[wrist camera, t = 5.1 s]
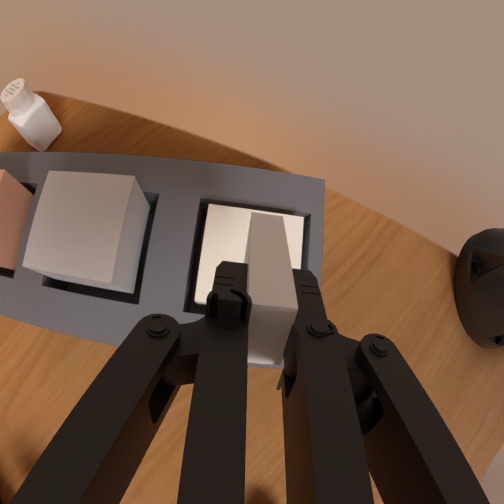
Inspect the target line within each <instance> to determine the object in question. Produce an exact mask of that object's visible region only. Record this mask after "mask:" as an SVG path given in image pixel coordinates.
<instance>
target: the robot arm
mask: <svg viewBox="0 0 504 504" xmlns="http://www.w3.org/2000/svg"><path fill="white" fill-rule="evenodd" d="M455 295H456V302H457V307H458V312H459V315H460V318H461V321H462V323H463V326H464V328H465V330H466V331H467V333H468V334H469V336H470V337H471V338H472V340H473V341H474V342H476V343H477V344H478V345H480V346H482V347H485V348H502V347H504V229H498V228H497V229H495V228H492V229H487V230H484V231H482V232H480V233H478V234H476V235H473V236H472V237H470V238H469V239H468V240H467V242H466V243H465V244H464V246H463V248H462V250H461V252H460V254H459V257H458V261H457V266H456V272H455ZM282 359H284V368H283V371H282V374H281V377H280V379H279V382H278V385H277V390H280V388H281V387H282V406H283V425H284V446H285V469H286V495H287V504H374V499H373V493H372V487H371V481H370V475H369V472H370V474H371V476H372V478H373V480H374V483H375V485H376V487H377V489H378V492H379V494H380V496H381V498H382V500H383V503H384V504H490V503H489V501H488V499H487V497H486V495H485V493H484V492H483V489H482V488H481V486H480V484H479V482H478V480H477V478H476V476H475V474H474V473H473V471H472V469H471V467H470V465H469V463H468V462H467V460H466V458H465V456H464V455H463V453H462V451H461V449H460V448H459V446H458V444H457V442H456V441H455V439H454V437H453V436H452V434H451V432H450V431H449V429H448V427H447V426H446V424H445V422H444V421H443V419H442V417H441V416H440V414H439V412H438V411H437V409H436V407H435V406H434V404H433V403H432V401H431V399H430V398H429V396H428V395H427V393H426V392H425V390H424V388H423V387H422V385H421V384H420V382H419V381H418V379H417V378H416V376H415V374H414V373H413V371H412V370H411V368H410V367H409V365H408V364H407V362H406V361H405V359H404V358H403V356H402V355H401V353H400V352H399V350H398V349H397V347H396V346H395V345H394V343H393V342H392V341H391V340H390V339H388V338H386V337H385V336H383V335H379V334H368V335H365V336H364V337H363V338H362V340H361V342H360V341H357V340H354V339H350V338H347V337H345V336H342V335H340V334H339V333H338V330H337V328H336V326H335V325H334V324H333V323H332V322H331V321H330V320H328V319H327V316H326V312H325V308H324V304H323V300H322V296H321V292H320V288H319V285H318V281H317V278H316V277H315V276H314V274H313V273H312V272H311V271H310V270H303V269H295V268H292V266H291V260H290V254H289V248H288V243H287V237H286V231H285V226H284V220H283V216H277V215H270V214H263V213H255V212H251V218H250V225H249V231H248V238H247V245H246V251H245V258H244V263H238V262H230V261H222V262H221V263H220V264H219V265H218V266H217V267H216V271H215V277H214V282H213V287H212V291H210V292H209V294H208V296H207V299H206V314H205V316H204V317H202V318H201V319H200V320H197V321H195V322H191V323H184V324H179V323H178V322H177V321H176V320H175V319H174V318H173V317H171V316H169V315H166V314H160V313H158V314H150V315H148V316H145V317H143V318H142V319H141V320H140V321H139V322H138V323H137V324H136V325H135V327H134V328H133V329H132V331H131V332H130V333H129V334H128V336H127V337H126V338H125V340H124V341H123V342H122V344H121V345H120V346H119V347H118V349H117V350H116V351H115V353H114V354H113V355H112V357H111V358H110V359H109V361H108V362H107V363H106V365H105V366H104V367H103V369H102V370H101V371H100V373H99V374H98V375H97V377H96V378H95V380H94V381H93V382H92V384H91V385H90V386H89V388H88V389H87V390H86V392H85V393H84V395H83V396H82V397H81V399H80V400H79V402H78V403H77V404H76V406H75V407H74V408H73V410H72V411H71V413H70V414H69V416H68V417H67V418H66V420H65V421H64V423H63V424H62V426H61V427H60V428H59V430H58V431H57V433H56V434H55V436H54V437H53V439H52V440H51V441H50V443H49V444H48V446H47V447H46V449H45V450H44V452H43V453H42V455H41V456H40V458H39V459H38V461H37V462H36V464H35V465H34V467H33V468H32V470H31V471H30V473H29V474H28V476H27V478H26V479H25V481H24V482H23V484H22V485H21V487H20V489H19V490H18V492H17V493H16V495H15V496H14V498H13V500H12V501H11V503H10V504H119V503H120V501H121V499H122V497H123V496H124V494H125V492H126V490H127V488H128V486H129V484H130V482H131V480H132V478H133V476H134V475H135V473H136V471H137V469H138V467H139V465H140V463H141V461H142V459H143V457H144V455H145V454H146V452H147V450H148V448H149V446H150V444H151V442H152V440H153V438H154V436H155V434H156V433H157V431H158V429H159V427H160V425H161V423H162V421H163V419H164V417H165V415H166V413H167V412H168V410H169V408H170V406H171V404H172V402H173V400H174V398H175V396H176V394H177V392H178V391H179V389H180V387H181V385H185V384H192V383H194V387H193V393H192V400H191V406H190V413H189V419H188V426H187V433H186V439H185V446H184V453H183V461H182V468H181V476H180V483H179V491H178V499H177V504H244V491H245V449H246V408H247V368H248V363H258V364H270V365H281V362H282Z"/></svg>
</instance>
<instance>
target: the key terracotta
mask: <svg viewBox="0 0 504 504" xmlns="http://www.w3.org/2000/svg"><path fill="white" fill-rule="evenodd" d="M33 198H34V195H33V194H32V193H31V192H30V191H28V190H27V189H26V188H25V187H24V186H23V185H22V184H20V183H19V182H18V181H17V180H16V179H15V178H14V177H13V176H11V175H10V174H9V173H8V172H7V171H6V170H0V267H3V268H7V269H11V270H15V268H16V263H17V258H18V254H19V249H20V245H21V241H22V237H23V233H24V229H25V225H26V221H27V218H28V214H29V211H30V208H31V204H32V201H33Z"/></svg>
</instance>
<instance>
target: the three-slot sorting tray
mask: <svg viewBox="0 0 504 504" xmlns="http://www.w3.org/2000/svg"><path fill="white" fill-rule="evenodd" d="M0 170H6V171H7V172H8V173H9V174H10V175H11V176H13V177H14V178H15V179H16V180H17V181H18V182H19V183H20V184H22V185H23V186H24V187H25V188H26V189H27V190H28V191H30V192H31V193H32V194H33V195H34V198H33V201H32V204H31V208H30V211H29V214H28V218H27V221H26V225H25V229H24V233H23V237H22V241H21V245H20V249H19V254H18V258H17V263H16V268H15V270H11V269H7V268H3V267H0V314H1V315H4V316H7V317H10V318H13V319H16V320H19V321H22V322H25V323H29V324H32V325H35V326H39V327H42V328H46V329H49V330H53V331H56V332H60V333H64V334H68V335H71V336H75V337H79V338H83V339H88V340H92V341H96V342H101V343H105V344H110V345H114V346H120V345H121V344H122V342H123V341H124V340H125V338H126V337H127V336H128V334H129V333H130V332H131V331H132V329H133V328H134V327H135V325H136V324H137V323H138V322H139V321H140V320H141V319H142V318H143V317H145V316H148V315H150V314H158V313H160V314H166V315H169V316H171V317H173V318H174V319H175V320H176V321H177V322H178V323H179V324H184V323H191V322H195V321H197V320H200V319H201V318H202V317H204V316H205V314H206V307H199V306H198V305H197V303H196V302H195V301H194V300H195V293H196V285H197V278H198V271H199V264H200V257H201V251H202V244H203V237H204V231H205V225H206V219H207V212H208V206H209V204H214V205H222V206H230V207H237V208H244V209H252V210H259V211H266V212H273V213H280V214H286V215H293V216H299V217H304V222H303V239H302V254H301V268H300V269H303V270H310V271H311V272H312V273H313V274H314V276H315V277H316V278H317V281H318V285H319V288H320V287H321V271H322V253H323V230H324V194H325V180H324V179H319V178H312V177H308V176H302V175H296V174H291V173H285V172H278V171H272V170H266V169H259V168H252V167H245V166H238V165H230V164H222V163H214V162H206V161H197V160H187V159H177V158H166V157H154V156H141V155H127V154H109V153H84V152H5V153H0ZM49 171H69V172H87V173H103V174H117V175H129V176H135V177H136V179H137V181H138V183H139V185H140V188H141V190H142V192H143V194H144V196H145V198H146V200H147V202H148V204H149V206H150V210H149V214H148V219H147V224H146V228H145V233H144V238H143V243H142V248H141V254H140V259H139V265H138V271H137V276H136V282H135V289H134V294H132V293H126V292H120V291H114V290H108V289H103V288H97V287H92V286H87V285H82V284H76V283H71V282H66V281H61V280H57V279H54V278H51V277H49V276H46V275H44V274H41V273H38V272H36V271H33V270H31V269H28V268H26V267H23V266H22V265H23V260H24V256H25V251H26V247H27V243H28V238H29V234H30V231H31V227H32V223H33V219H34V216H35V212H36V209H37V206H38V202H39V199H40V196H41V193H42V190H43V187H44V184H45V181H46V178H47V175H48V172H49ZM248 366H255V367H267V368H280V369H283V368H284V359H282V362H281V365H270V364H258V363H248Z"/></svg>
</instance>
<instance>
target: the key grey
mask: <svg viewBox="0 0 504 504" xmlns="http://www.w3.org/2000/svg"><path fill="white" fill-rule="evenodd" d="M149 210H150V206H149V204H148V202H147V200H146V198H145V196H144V194H143V192H142V190H141V188H140V185H139V183H138V181H137V179H136V177H135V176H129V175H117V174H103V173H87V172H69V171H49V172H48V175H47V178H46V181H45V184H44V187H43V190H42V193H41V196H40V199H39V202H38V206H37V209H36V212H35V216H34V219H33V223H32V227H31V231H30V234H29V238H28V243H27V247H26V251H25V256H24V260H23V265H22V266H23V267H26V268H28V269H31V270H33V271H36V272H38V273H41V274H44V275H46V276H49V277H51V278H54V279H57V280H61V281H66V282H71V283H76V284H82V285H87V286H92V287H97V288H103V289H108V290H114V291H120V292H126V293H132V294H134V289H135V282H136V276H137V271H138V265H139V259H140V254H141V248H142V243H143V238H144V233H145V228H146V224H147V219H148V214H149Z"/></svg>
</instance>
